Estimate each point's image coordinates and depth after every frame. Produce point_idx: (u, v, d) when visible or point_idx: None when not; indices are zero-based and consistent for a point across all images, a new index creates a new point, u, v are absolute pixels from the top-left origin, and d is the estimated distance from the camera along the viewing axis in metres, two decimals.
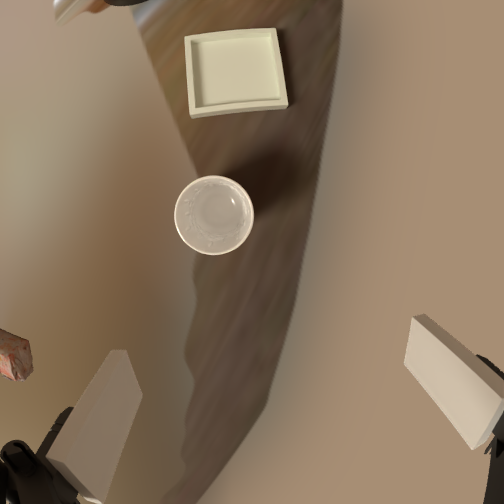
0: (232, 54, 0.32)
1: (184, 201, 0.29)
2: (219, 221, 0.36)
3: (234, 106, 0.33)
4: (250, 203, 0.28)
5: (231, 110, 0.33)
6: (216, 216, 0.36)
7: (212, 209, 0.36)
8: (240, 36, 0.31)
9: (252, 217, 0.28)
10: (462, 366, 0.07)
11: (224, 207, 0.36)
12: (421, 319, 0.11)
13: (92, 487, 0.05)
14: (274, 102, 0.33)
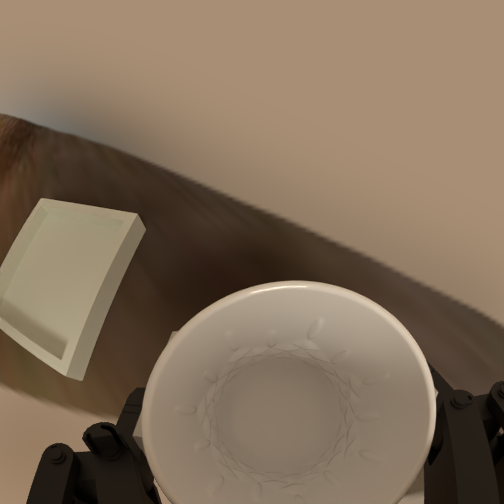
0: (35, 268, 0.19)
1: (210, 491, 0.06)
2: (307, 422, 0.13)
3: (92, 295, 0.16)
4: (299, 285, 0.08)
5: (99, 307, 0.17)
6: (293, 425, 0.12)
7: (273, 429, 0.12)
8: (23, 245, 0.20)
9: (347, 293, 0.08)
10: None
11: (280, 402, 0.13)
12: None
13: None
14: (122, 231, 0.19)
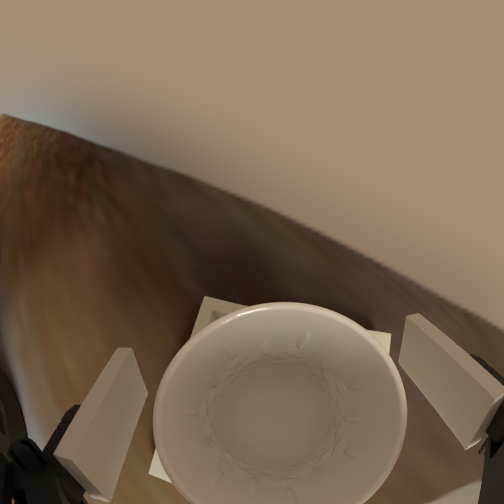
0: None
1: (211, 482, 0.07)
2: (300, 423, 0.14)
3: None
4: (286, 306, 0.09)
5: None
6: (287, 425, 0.14)
7: (269, 428, 0.14)
8: None
9: (329, 312, 0.09)
10: (455, 365, 0.08)
11: (275, 404, 0.14)
12: (415, 318, 0.11)
13: (99, 484, 0.05)
14: None
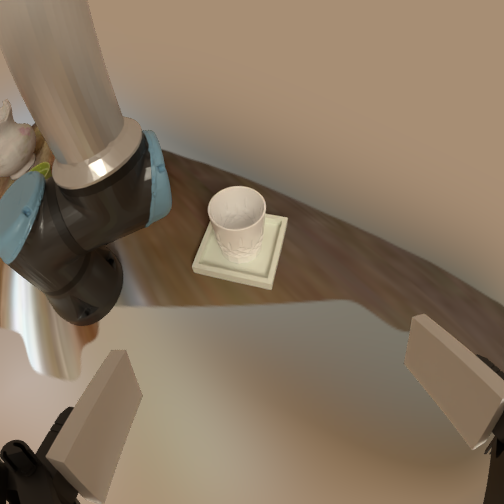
0: None
1: None
2: None
3: (277, 251, 0.44)
4: (238, 186, 0.40)
5: (279, 256, 0.45)
6: None
7: None
8: (212, 230, 0.48)
9: (248, 187, 0.40)
10: (462, 366, 0.07)
11: None
12: (421, 319, 0.11)
13: (92, 487, 0.05)
14: (283, 225, 0.47)
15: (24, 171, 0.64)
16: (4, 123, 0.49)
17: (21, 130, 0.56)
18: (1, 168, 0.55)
